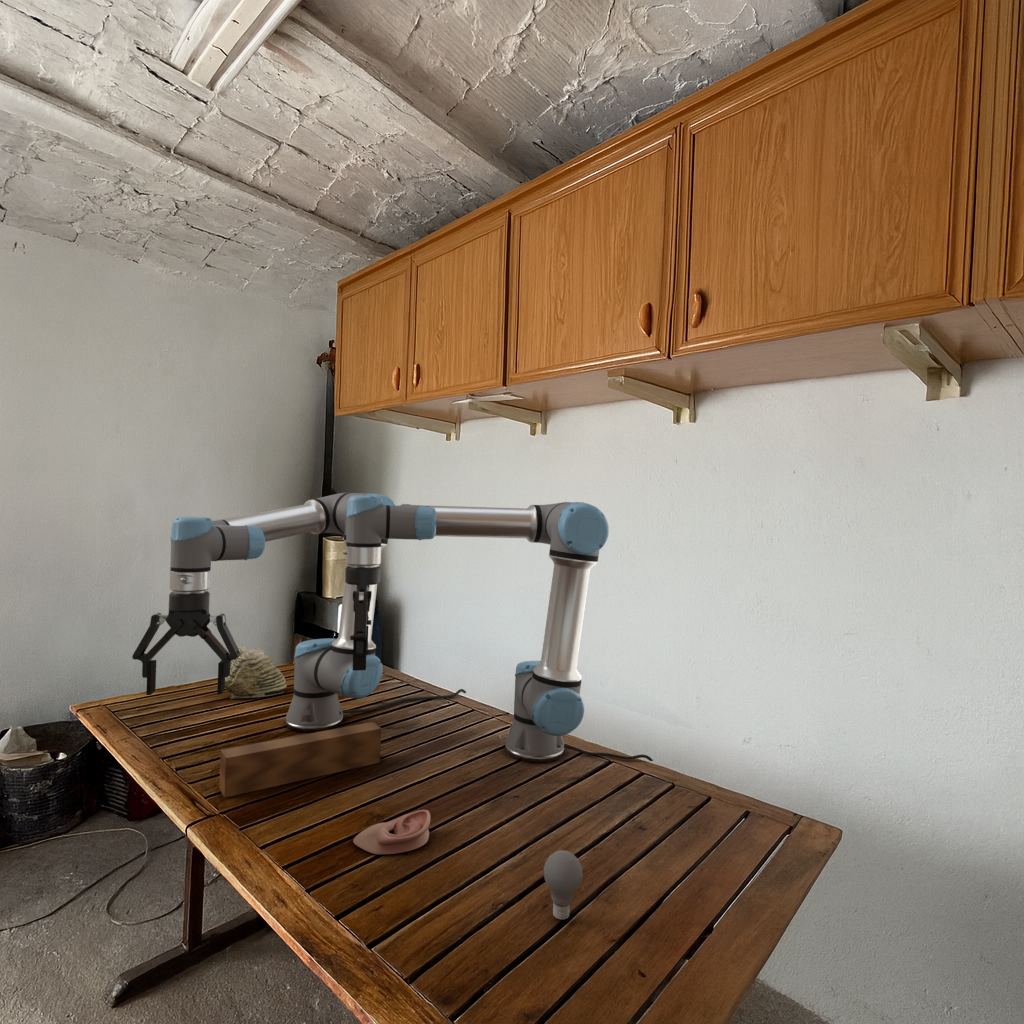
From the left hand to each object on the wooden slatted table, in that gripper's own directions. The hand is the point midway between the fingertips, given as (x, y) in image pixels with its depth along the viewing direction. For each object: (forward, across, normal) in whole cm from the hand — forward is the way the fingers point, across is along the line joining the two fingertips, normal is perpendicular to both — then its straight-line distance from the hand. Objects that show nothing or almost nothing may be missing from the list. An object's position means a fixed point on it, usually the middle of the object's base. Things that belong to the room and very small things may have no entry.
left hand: (186, 692), depth 132 cm
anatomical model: (+21, +43, -22) cm, 53 cm away
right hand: (-6, +35, +2) cm, 36 cm away
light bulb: (+21, +69, -47) cm, 86 cm away
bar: (+21, +23, +8) cm, 32 cm away
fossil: (+21, 0, +67) cm, 70 cm away
